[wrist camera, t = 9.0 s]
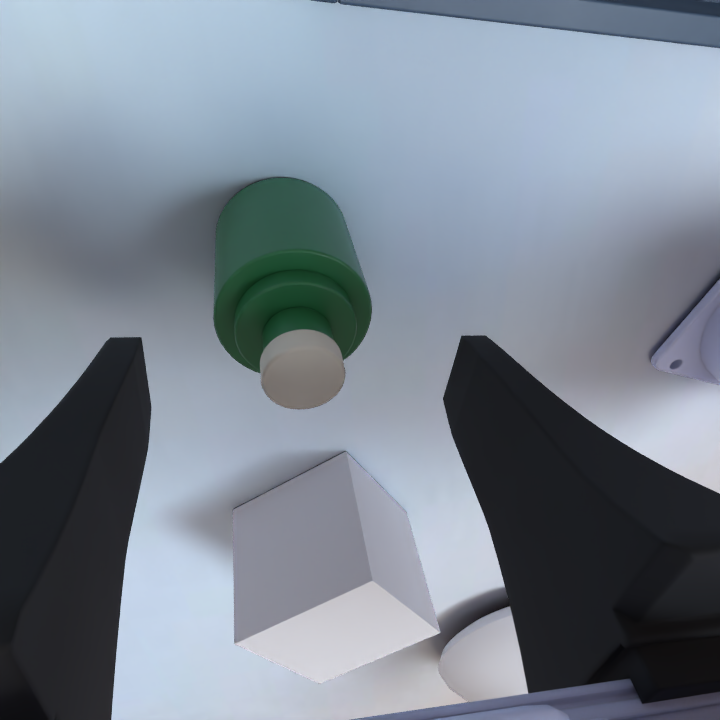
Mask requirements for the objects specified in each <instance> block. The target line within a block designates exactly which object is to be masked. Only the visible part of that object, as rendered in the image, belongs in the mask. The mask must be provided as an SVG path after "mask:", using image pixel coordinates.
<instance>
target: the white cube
mask: <svg viewBox="0 0 720 720" xmlns="http://www.w3.org/2000/svg"><path fill="white" fill-rule="evenodd" d="M233 571H234V644H235V645H237V646H240V647H242V648H244V649H246V650H248V651H250V652H252V653H254V654H257V655H259V656H261V657H263V658H265V659H267V660H269V661H271V662H273V663H276V664H278V665H280V666H282V667H284V668H286V669H288V670H290V671H293V672H295V673H297V674H299V675H301V676H303V677H305V678H307V679H310V680H312V681H314V682H316V683H318V684H321V683H324V682H326V681H328V680H331V679H333V678H335V677H338V676H340V675H342V674H345V673H347V672H349V671H352V670H354V669H357V668H359V667H361V666H364V665H366V664H368V663H371V662H373V661H375V660H378V659H380V658H382V657H385V656H387V655H389V654H392V653H394V652H397V651H399V650H401V649H404V648H406V647H408V646H411V645H413V644H415V643H418V642H420V641H422V640H425V639H427V638H429V637H432V636H434V635H437V634H439V633H440V629H439V625H438V622H437V618H436V615H435V611H434V608H433V604H432V601H431V597H430V593H429V590H428V586H427V583H426V579H425V576H424V572H423V568H422V565H421V561H420V558H419V554H418V551H417V547H416V543H415V540H414V536H413V533H412V529H411V526H410V522H409V518H408V515H407V512H406V511H405V510H404V509H403V508H402V507H401V506H400V505H399V504H398V503H397V502H396V501H395V500H394V499H393V498H392V497H391V496H390V495H389V494H388V493H387V492H386V491H385V490H384V489H383V488H382V487H381V486H380V485H379V484H378V483H377V482H376V481H375V480H374V479H373V478H372V477H371V476H370V475H369V474H368V473H367V472H366V471H365V470H364V469H363V468H362V467H361V466H360V465H359V464H358V463H357V462H356V461H355V460H354V459H353V458H352V457H351V456H350V455H349V454H348V453H347V452H344V453H342V454H340V455H338V456H336V457H334V458H332V459H330V460H328V461H326V462H324V463H322V464H320V465H318V466H317V467H315V468H313V469H311V470H309V471H307V472H305V473H303V474H301V475H299V476H297V477H295V478H293V479H291V480H290V481H288V482H286V483H284V484H282V485H280V486H278V487H276V488H274V489H272V490H270V491H268V492H266V493H264V494H263V495H261V496H259V497H257V498H255V499H253V500H251V501H249V502H247V503H245V504H243V505H241V506H239V507H237V508H235V509H234V510H233Z"/></svg>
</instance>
